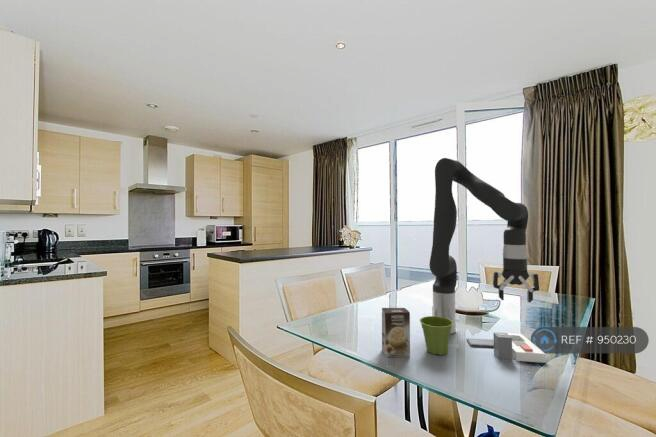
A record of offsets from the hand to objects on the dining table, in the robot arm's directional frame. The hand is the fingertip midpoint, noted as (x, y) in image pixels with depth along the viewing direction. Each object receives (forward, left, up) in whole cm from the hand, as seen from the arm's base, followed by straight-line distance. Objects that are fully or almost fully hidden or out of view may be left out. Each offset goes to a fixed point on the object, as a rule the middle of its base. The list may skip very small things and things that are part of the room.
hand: (515, 300), depth 110 cm
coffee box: (-44, -8, -19) cm, 48 cm away
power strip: (+1, +1, -19) cm, 19 cm away
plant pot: (-29, -4, -19) cm, 35 cm away
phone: (-9, +5, -19) cm, 22 cm away
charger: (-7, -6, -19) cm, 21 cm away
